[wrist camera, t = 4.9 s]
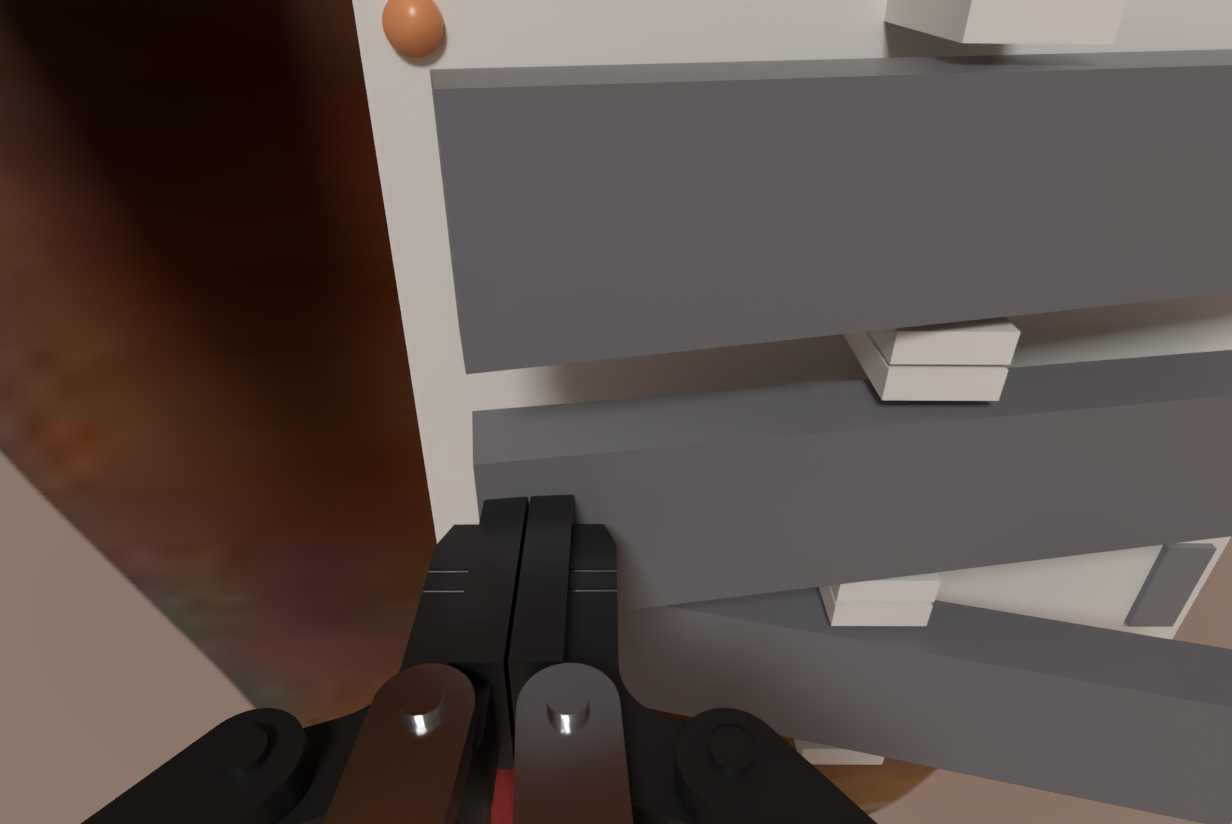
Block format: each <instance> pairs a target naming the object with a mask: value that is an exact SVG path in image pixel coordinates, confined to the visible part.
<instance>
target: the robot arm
mask: <svg viewBox="0 0 1232 824" xmlns="http://www.w3.org/2000/svg"><path fill="white" fill-rule="evenodd" d="M497 769H514V791H513V824H877V823H876V822H875V821H874V820H872V819H871V818H870V817H869V816H868V815H867V814H866V813H865V812H864V811H863V810H861V809H860V808H859V807H858V806H857V805H856V804H855V803H854V802H853V801H852V800H850V799H849V798H848V797H847V796H846V795H845V794H844V793H843V792H842V791H840V790H839V789H838V788H837V787H836V786H835V785H834V784H833V783H832V782H831V781H829V780H828V779H827V778H826V777H825V776H824V775H823V774H822V773H821V772H820V771H818V770H817V769H816V768H815V767H814V766H813V765H812V764H811V763H810V762H808V761H807V760H806V759H805V758H804V757H803V756H802V755H801V754H800V753H799V752H797V751H796V750H795V749H794V748H793V747H792V746H791V745H790V744H789V743H788V742H786V741H785V740H784V739H783V738H782V737H781V736H780V735H779V734H778V733H777V732H775V731H774V730H773V729H772V728H771V727H770V726H769V725H768V724H766V723H765V722H764V721H762V720H761V719H760V718H758V717H756V716H754V715H753V714H750V713H748V712H745V711H742V710H738V709H734V708H715V709H710V710H706V711H704V712H701V713H699V714H698V715H696V716H694V717H693V718H692V719H690V720H689V721H688V722H685V721H682V720H679V719H675V718H672V717H669V716H665V715H662V714H660V713H657V712H654V711H652V710H650V709H648V708H647V707H645V706H643V705H642V704H641V703H639V702H638V701H637V700H636V699H635V698H634V697H633V696H632V695H631V694H630V693H629V691H628V690H627V689H626V687H625V685H624V683H623V681H622V679H621V676H620V672H619V655H618V598H617V545H616V543H615V541H614V540H613V538H612V537H611V535H610V533H609V532H608V530H607V528H606V527H605V525H604V524H574V501H573V494H569V495H545V496H531V499H530V505H529V513H528V498H527V497H513V498H500V499H489V500H484V503H483V508H482V512H481V517H480V521H479V524H454V525H453V526H452V528H451V529H450V530H449V531H448V532H447V533H446V534H445V536H444V537H443V538H442V539H441V540H440V541H439V542H438V543H437V545H436V547H435V550H434V554H433V557H432V561H431V564H430V568H429V574H428V575H427V578H426V582H425V585H424V588H423V594H422V595H421V599H420V602H419V606H418V609H417V613H416V616H415V620H414V623H413V627H412V630H411V634H410V637H409V641H408V644H407V648H406V651H405V655H404V658H403V662H402V665H401V668H400V671H399V673H397V674H396V675H394V676H393V677H391V678H390V679H389V680H388V681H386V682H385V683H384V684H383V685H382V686H381V688H380V689H379V690H378V692H377V693H376V694H375V696H374V698H373V700H372V702H371V704H370V705H368V706H367V707H365V708H363V709H361V710H359V711H357V712H355V713H353V714H350V715H347V716H344V717H341V718H337V719H334V720H330V721H327V722H323V723H320V724H316V725H313V726H309V727H306V728H302V726H301V724H300V722H299V721H298V720H297V719H296V717H294V716H293V715H291V714H290V713H288V712H286V711H283V710H279V709H274V708H262V709H254V710H250V711H246V712H243V713H240V714H238V715H235V716H234V717H231V718H229V719H227V720H225V721H224V722H222V723H221V724H219V725H218V726H216V727H215V728H213V729H212V730H210V731H209V732H208V733H206V734H205V735H204V736H202V737H201V738H199V739H198V740H197V741H195V742H194V743H192V744H191V745H190V746H188V747H187V748H185V749H184V750H183V751H181V752H180V753H179V754H177V755H176V756H174V757H173V758H172V759H170V760H169V761H167V762H166V763H165V764H163V765H162V766H160V767H159V768H158V769H156V770H155V771H153V772H152V773H151V774H149V775H148V776H147V777H145V778H144V779H142V780H141V781H140V782H138V783H137V784H136V785H134V786H133V787H131V788H130V789H128V790H127V791H126V792H124V793H123V794H121V795H120V796H119V797H118V798H116V799H115V800H113V801H112V802H110V803H109V804H108V805H106V806H105V807H103V808H102V809H101V810H99V811H98V812H96V813H95V814H94V815H92V816H91V817H89V818H88V819H87V820H85V821H84V822H83V823H81V824H491V820H492V815H491V807H492V803H493V796H494V789H495V781H496V774H497Z"/></svg>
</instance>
